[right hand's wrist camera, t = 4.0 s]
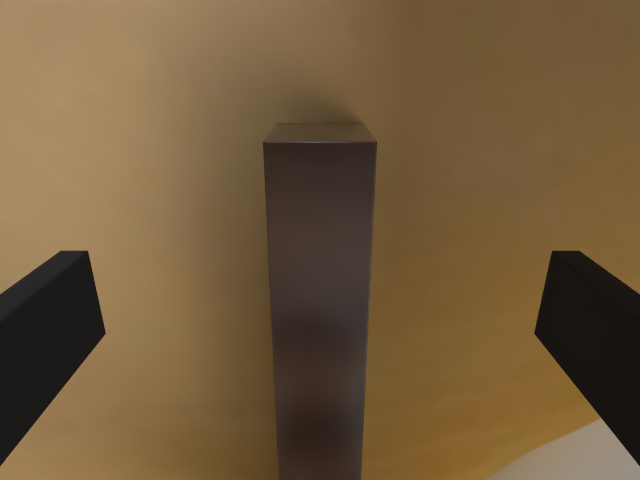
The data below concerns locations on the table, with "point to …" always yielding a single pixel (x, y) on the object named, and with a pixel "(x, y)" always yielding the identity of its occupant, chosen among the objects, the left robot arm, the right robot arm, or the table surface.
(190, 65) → the table surface
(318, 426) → the walnut beam
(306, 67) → the table surface
